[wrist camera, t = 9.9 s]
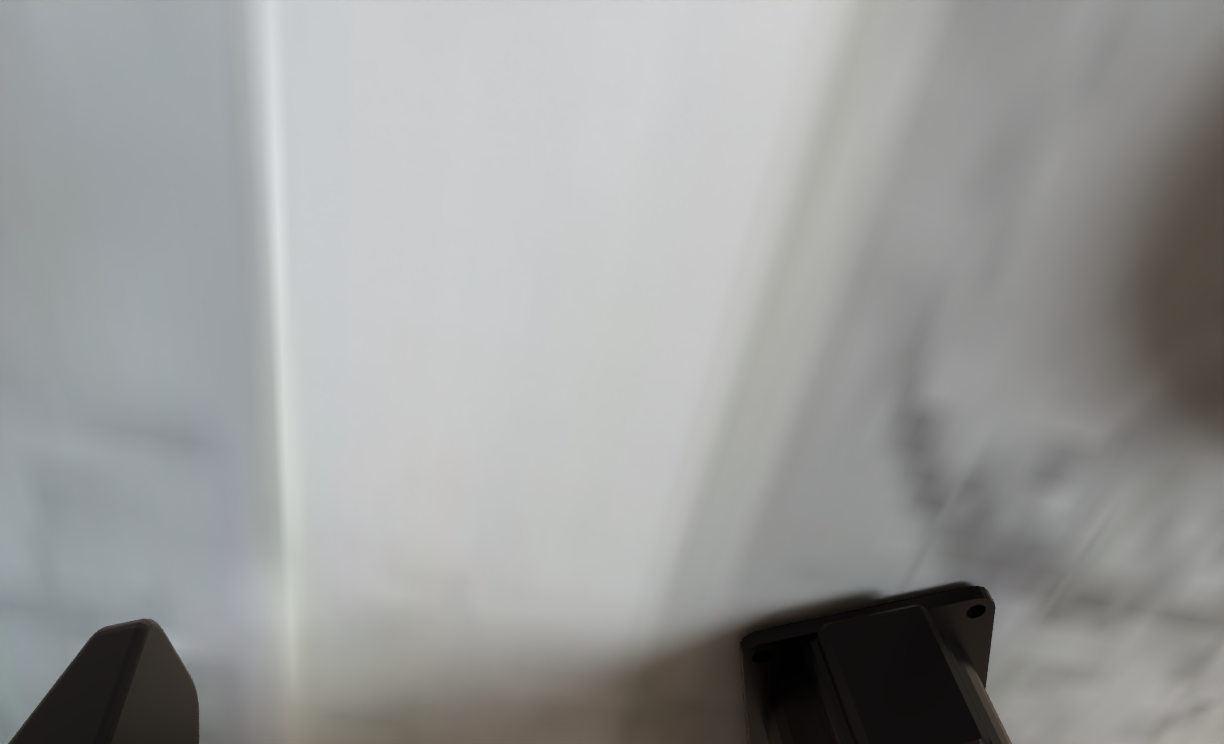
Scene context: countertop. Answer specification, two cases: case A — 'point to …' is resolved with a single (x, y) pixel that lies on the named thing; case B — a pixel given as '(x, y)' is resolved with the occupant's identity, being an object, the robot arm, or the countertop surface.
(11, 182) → the countertop surface
